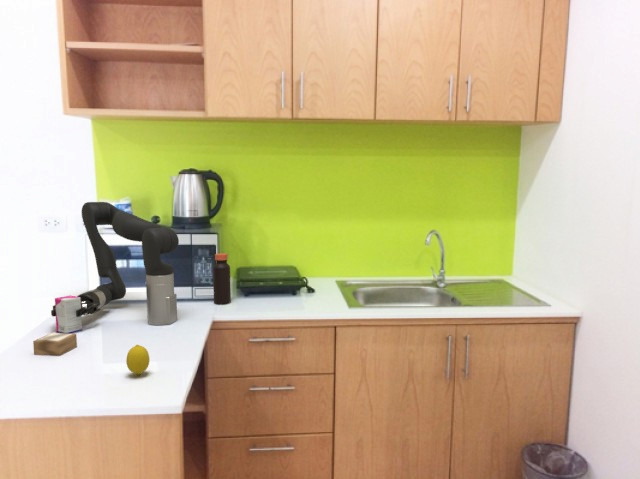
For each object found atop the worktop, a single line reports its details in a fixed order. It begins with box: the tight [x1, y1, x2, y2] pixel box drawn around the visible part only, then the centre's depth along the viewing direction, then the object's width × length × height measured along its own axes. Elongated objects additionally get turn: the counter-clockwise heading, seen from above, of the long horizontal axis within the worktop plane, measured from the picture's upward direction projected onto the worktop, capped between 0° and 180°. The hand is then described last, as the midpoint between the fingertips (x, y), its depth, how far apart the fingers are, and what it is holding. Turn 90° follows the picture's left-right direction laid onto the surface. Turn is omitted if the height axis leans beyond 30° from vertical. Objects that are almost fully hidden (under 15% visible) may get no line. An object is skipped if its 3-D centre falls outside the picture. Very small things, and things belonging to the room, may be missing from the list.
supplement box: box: [54, 294, 83, 334], centre depth 166 cm, size 6×6×12 cm
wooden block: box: [32, 332, 78, 357], centre depth 148 cm, size 8×8×4 cm
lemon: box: [126, 344, 150, 376], centre depth 129 cm, size 6×6×8 cm
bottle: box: [212, 252, 232, 305], centre depth 205 cm, size 7×7×20 cm
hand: (64, 313), depth 164 cm, fingers closed on supplement box, 7 cm apart
